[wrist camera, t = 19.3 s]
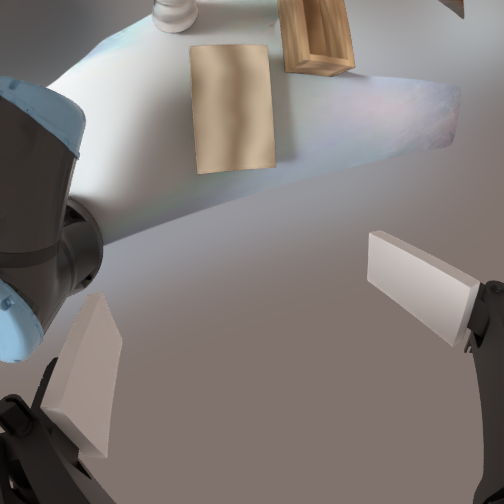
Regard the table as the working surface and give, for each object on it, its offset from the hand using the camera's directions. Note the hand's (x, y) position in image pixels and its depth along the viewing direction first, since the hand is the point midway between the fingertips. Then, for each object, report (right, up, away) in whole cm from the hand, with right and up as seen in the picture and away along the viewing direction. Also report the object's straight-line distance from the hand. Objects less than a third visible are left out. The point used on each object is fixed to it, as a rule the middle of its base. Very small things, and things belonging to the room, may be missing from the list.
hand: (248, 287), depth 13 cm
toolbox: (+8, +39, +20) cm, 45 cm away
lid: (-3, +20, +20) cm, 29 cm away
